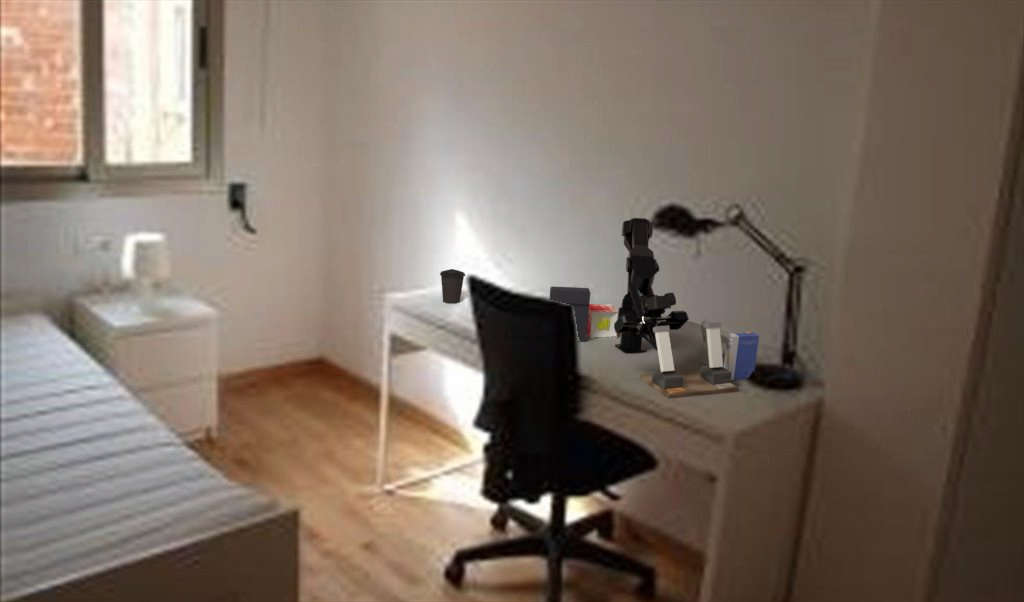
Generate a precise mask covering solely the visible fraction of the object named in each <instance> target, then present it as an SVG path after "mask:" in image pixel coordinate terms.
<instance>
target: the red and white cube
mask: <svg viewBox="0 0 1024 602" xmlns="http://www.w3.org/2000/svg"><path fill="white" fill-rule="evenodd" d="M618 311H619V310H618V309H617V308H616V307H615V306H614V305H612V304H611V303H607V304H606V303H602V304H601V303H599V304H597V303H596V304H595V303H590V304H589V313H588V325H587V337H588V338H589V339H595V338H594V337H607V336H609V337H611V336H616V337H617V338H618V333H616V332H615V328H614V324H615V322H616V321H617V316H618Z"/></svg>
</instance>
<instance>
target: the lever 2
mask: <svg viewBox="0 0 1024 602" xmlns="http://www.w3.org/2000/svg"><path fill="white" fill-rule="evenodd" d="M704 327H705V328H706V332H707V343H708V355H709V367H710V368H714V367H723V360H722V349H721V337H720V327H722V322H721V321H719V322H718V321H717V322H711V323H704Z"/></svg>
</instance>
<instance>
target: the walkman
mask: <svg viewBox="0 0 1024 602" xmlns="http://www.w3.org/2000/svg"><path fill="white" fill-rule="evenodd" d="M759 337H760V335H758V334H757V333H755V332H752V331H746V332H737V333H735V332H733V333H731V334H728V335H727V343H726V351H725V360H724V368H725V369H727V370H728V371H730V372H732V374H731V380H748V379H747V378H749V376H750V375H751V373H752V372H753V371H754V372H755V369H756V361H757V353H758V345H759Z"/></svg>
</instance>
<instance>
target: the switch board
mask: <svg viewBox="0 0 1024 602" xmlns="http://www.w3.org/2000/svg"><path fill="white" fill-rule="evenodd" d="M652 370H653V371H652V373H648V374H640V376H639V379H640V380H641V381H643V382H644V383H646V384H647V385H649V386H650V387H651V388H652V389H654V390H656V391H657V392H659V393H660V394H662V395H663V396H664V397H666V398H667V399H674V398H676V399H677V398H685V397H696V396H697V397H698V396H704V395H706V396H707V395H716V394H717V395H718V394H727V393H737V392H738V393H739V391H740V388H739V387H738V386H737V385H735V384H733V383H731V374H732V372H730V371H728V370H727V369H725V368H723V367H714V368H710V367H709V365H708V366H707V365H701V367H700V369H695V370H684V371H683V370H681V371H675V370H674V371H670V372H661V369H660V368H659V369H652Z"/></svg>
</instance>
